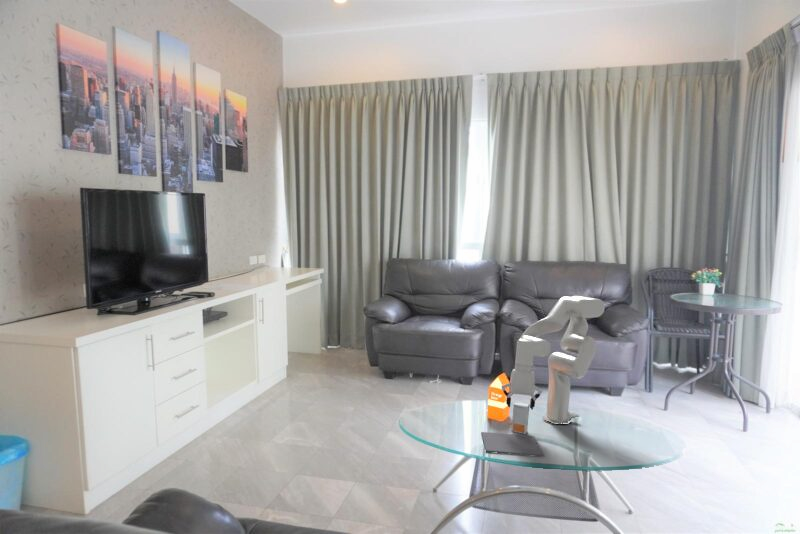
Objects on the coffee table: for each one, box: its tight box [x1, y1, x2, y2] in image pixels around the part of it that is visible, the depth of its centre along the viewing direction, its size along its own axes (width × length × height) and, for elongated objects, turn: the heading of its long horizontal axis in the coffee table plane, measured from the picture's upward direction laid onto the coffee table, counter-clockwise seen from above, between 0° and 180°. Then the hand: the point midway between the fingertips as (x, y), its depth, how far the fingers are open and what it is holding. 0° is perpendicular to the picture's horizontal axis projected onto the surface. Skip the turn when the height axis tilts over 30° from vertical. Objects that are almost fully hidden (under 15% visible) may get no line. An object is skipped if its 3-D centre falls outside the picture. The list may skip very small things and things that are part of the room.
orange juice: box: [486, 372, 512, 422], centre depth 231 cm, size 8×9×20 cm
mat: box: [480, 431, 545, 457], centre depth 201 cm, size 22×18×1 cm
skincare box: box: [511, 401, 530, 435], centre depth 215 cm, size 6×4×12 cm
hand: (520, 407), depth 214 cm, fingers open, 9 cm apart
